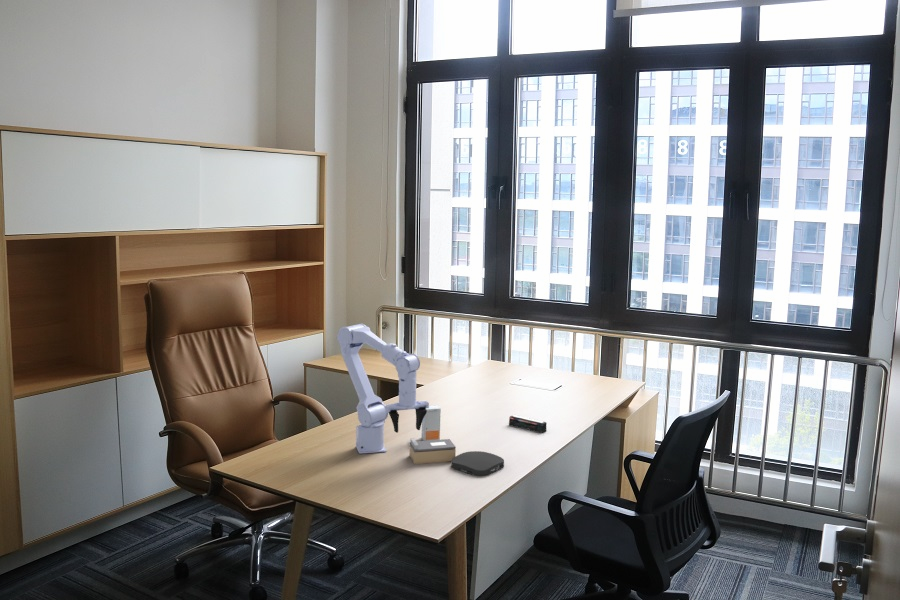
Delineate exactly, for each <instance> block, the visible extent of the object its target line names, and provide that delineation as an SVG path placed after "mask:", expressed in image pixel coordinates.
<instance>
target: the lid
mask: <svg viewBox="0 0 900 600" xmlns="http://www.w3.org/2000/svg"><path fill="white" fill-rule="evenodd" d="M410 445H411V447H412V448H413V450H414V452H417V451H430V450H443V449H456V448H457V447H456V445H455V444H454V443H453V441H452V440H451V439H450V438H446V439H445V438H444V439H440V440H429V441H424V440H418V441H417V440H416V439H415V438H414V437H413V438H411V437H410V442H409V446H410Z"/></svg>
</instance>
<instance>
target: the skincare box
mask: <svg viewBox="0 0 900 600" xmlns="http://www.w3.org/2000/svg"><path fill="white" fill-rule="evenodd" d="M426 410H427V413H426V415H425V416H424V418H423V421H422V423H421V439H422V441H429V440H441V407H440V406H439V405H429V408H426Z"/></svg>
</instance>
